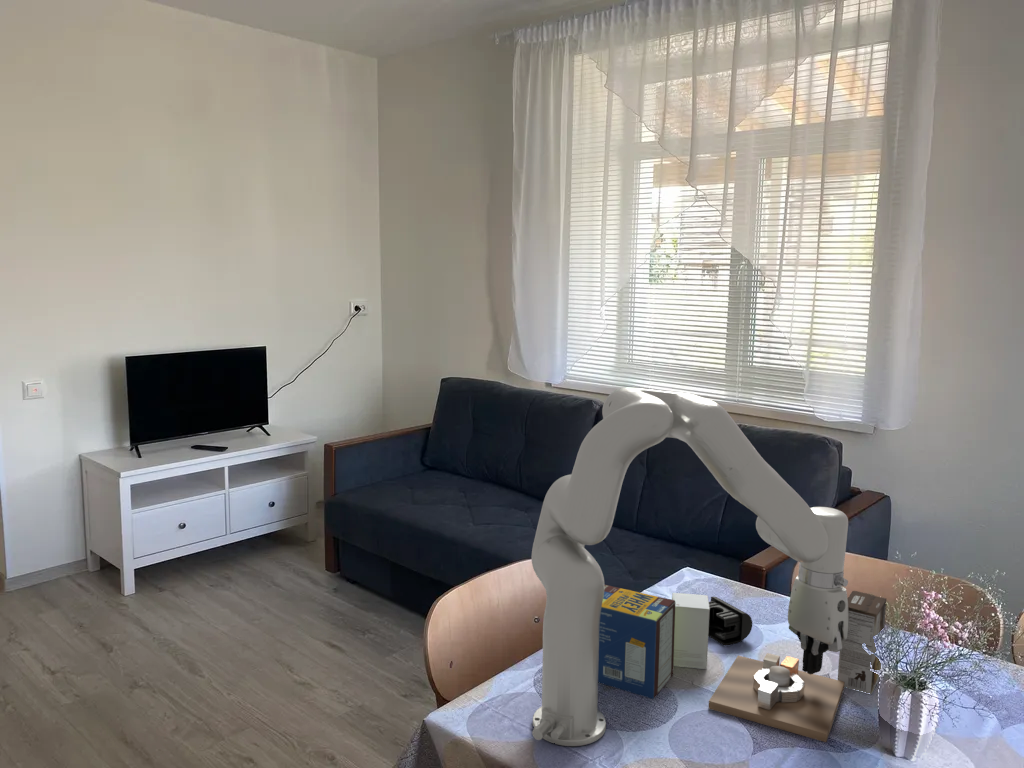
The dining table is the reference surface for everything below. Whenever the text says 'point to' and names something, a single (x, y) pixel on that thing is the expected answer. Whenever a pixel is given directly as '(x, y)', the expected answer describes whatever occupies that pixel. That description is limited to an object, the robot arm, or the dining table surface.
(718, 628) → the end cap
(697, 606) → the supplement box
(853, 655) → the coffee box
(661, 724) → the dining table surface
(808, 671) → the robot arm
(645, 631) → the protein box
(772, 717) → the base
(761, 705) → the segmented ring with arms
